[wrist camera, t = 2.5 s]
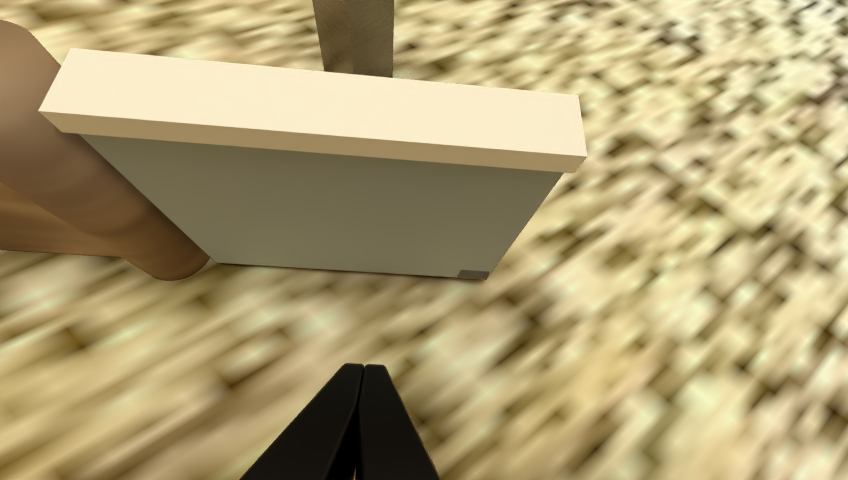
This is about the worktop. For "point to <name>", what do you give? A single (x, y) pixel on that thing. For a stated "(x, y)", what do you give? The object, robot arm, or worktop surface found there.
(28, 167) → the fence
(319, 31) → the stile
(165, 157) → the cream flat slab
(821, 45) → the worktop surface
